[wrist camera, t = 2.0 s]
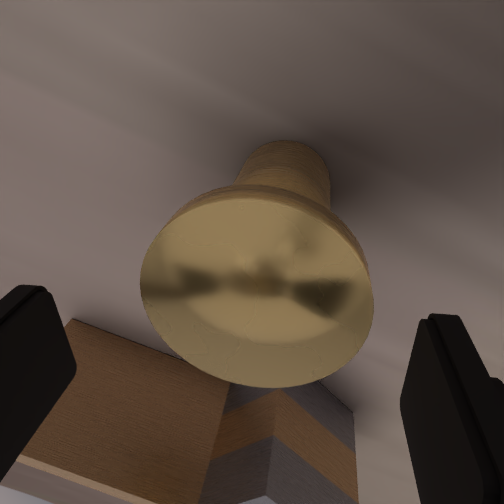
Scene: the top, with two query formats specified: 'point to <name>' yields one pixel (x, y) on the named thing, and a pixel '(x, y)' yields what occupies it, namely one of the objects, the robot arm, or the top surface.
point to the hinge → (191, 432)
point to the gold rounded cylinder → (261, 276)
